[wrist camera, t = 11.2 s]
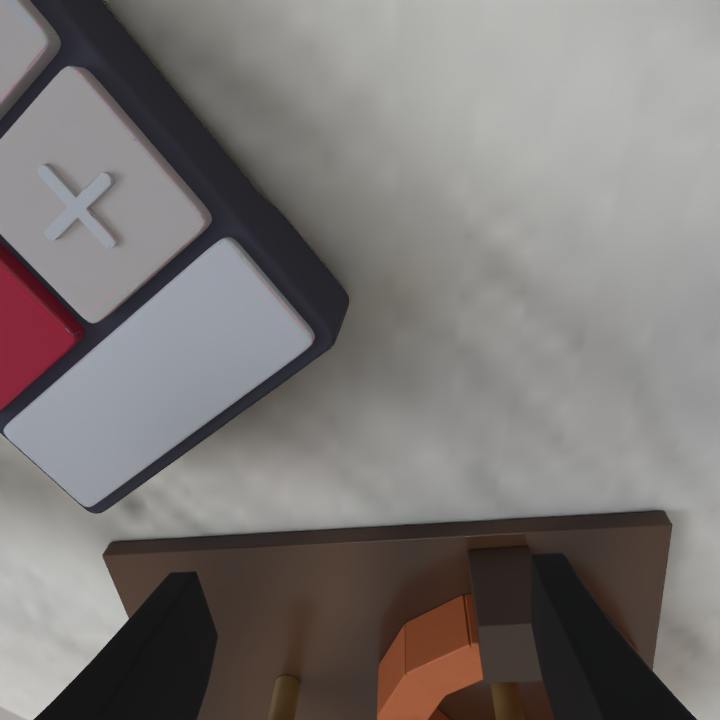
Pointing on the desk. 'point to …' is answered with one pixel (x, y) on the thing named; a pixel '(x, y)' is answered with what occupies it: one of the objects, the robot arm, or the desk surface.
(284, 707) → the rack
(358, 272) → the desk surface
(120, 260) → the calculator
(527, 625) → the ring
